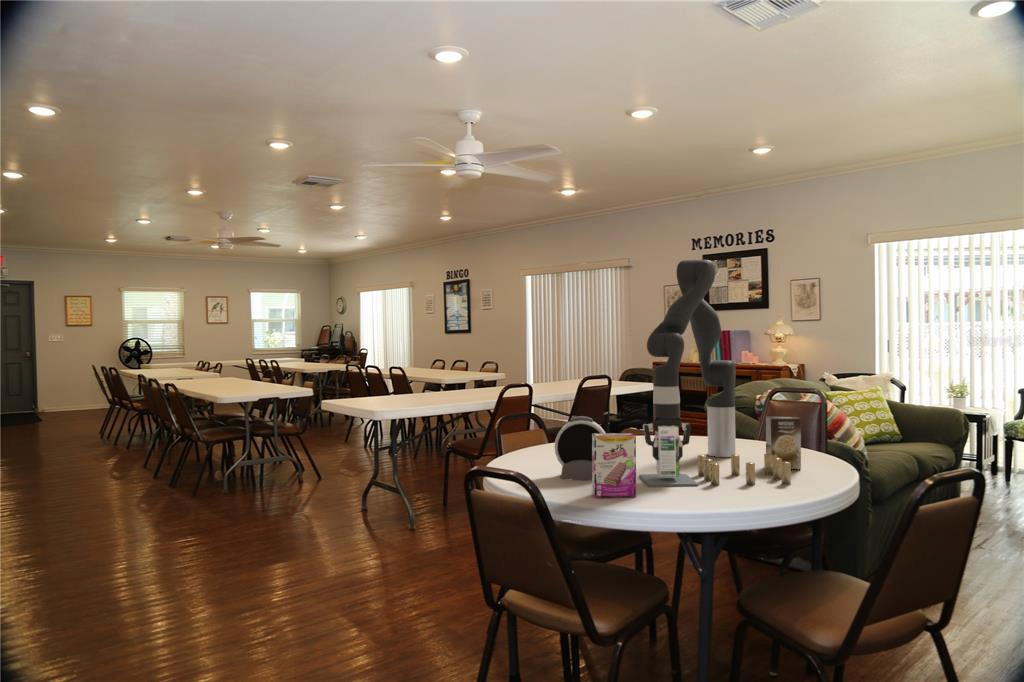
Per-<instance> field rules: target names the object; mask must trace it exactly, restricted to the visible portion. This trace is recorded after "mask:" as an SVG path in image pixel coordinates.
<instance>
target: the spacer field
mask: <svg viewBox="0 0 1024 682" xmlns="http://www.w3.org/2000/svg"><path fill="white" fill-rule="evenodd" d="M763 461H764V463H763V466H764V475H765V474H767V475H766V476H772V480H774V479H781V485H784V484H790V485H791V484H792V481H791V479H792V477H791V472H792V470H791V466H790V462H781V458H773V455H772V454H766V453H765V454H764V456H763ZM730 462H731V463H730V468H731V469H730V474H731V476H733V475H735V476H736V475H739V476H740V475H741V473H740V454H732V455H731V457H730ZM772 474H773V475H772ZM698 475H699V476H698ZM697 476H698V477H703V480H704V481H705V480H711V481H710V486H712V485H719V486H720V463H717V462H713V459H712V458H707V455H706V454H698V455H697ZM735 476H734V477H735ZM736 477H737V476H736ZM745 484H747V486H756V463H755V462H745Z"/></svg>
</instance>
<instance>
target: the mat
mask: <svg viewBox="0 0 1024 682" xmlns="http://www.w3.org/2000/svg"><path fill="white" fill-rule="evenodd" d="M679 474H680V476H679V477H660V476H659V475H658V474H657V473H655V474H651V473H650V474H645V473H644V474H638V478H640V479H641V480H642V482H643V483H644V482H645V483H646V484H647V485H648V486H670V487H699V483H698V482H697V481H695V480H694V479H692V477H690V476H689V475H687V474H686V473H679ZM645 483H644V484H645ZM646 484H645V485H646ZM647 485H646V486H647ZM648 486H647V487H648Z"/></svg>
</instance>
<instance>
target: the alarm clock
mask: <svg viewBox="0 0 1024 682" xmlns="http://www.w3.org/2000/svg"><path fill="white" fill-rule="evenodd" d="M592 434H607V433H606V431H605V430H604V429H603V428H602V426H601V425H599V424H598V423H597V422H595V421H594V420H593V418H592V417H589V416H585V415H584V416H583V415H580V416H574V417H571V418H569V421H568V422H567V423H566V424H565V425H563V426H562V427H561V429H560V430H559V431H558V433H557V434H556V438H555V440H554V448H553V449H554V454H555V456H556V458H557V461H558V462H559V464H560V465H561V475H560V479H561V478H562V479H561V480H565V479H572V480H571V481H592Z"/></svg>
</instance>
